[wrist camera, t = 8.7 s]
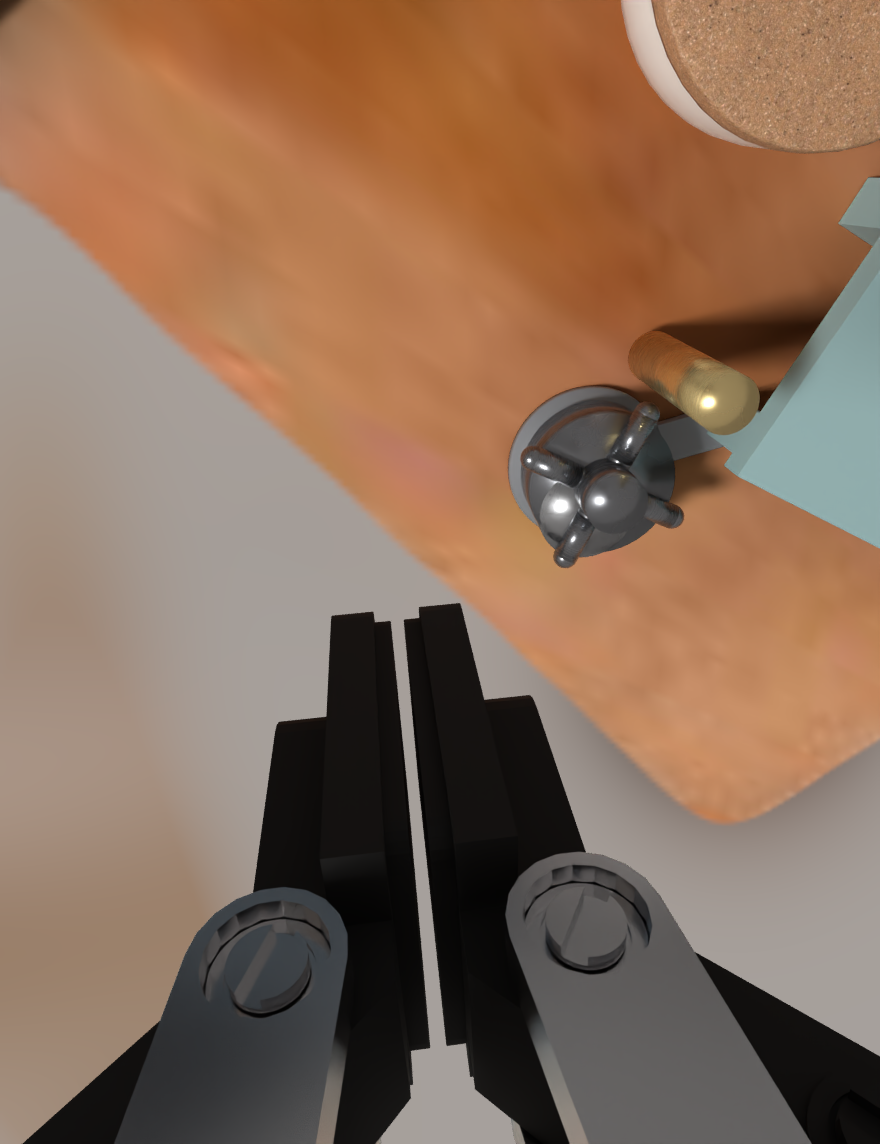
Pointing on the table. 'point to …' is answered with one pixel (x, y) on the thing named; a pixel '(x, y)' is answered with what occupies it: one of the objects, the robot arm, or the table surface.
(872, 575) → the table surface
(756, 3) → the lidded jar
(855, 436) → the spoked knob panel
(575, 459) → the cross handle valve
